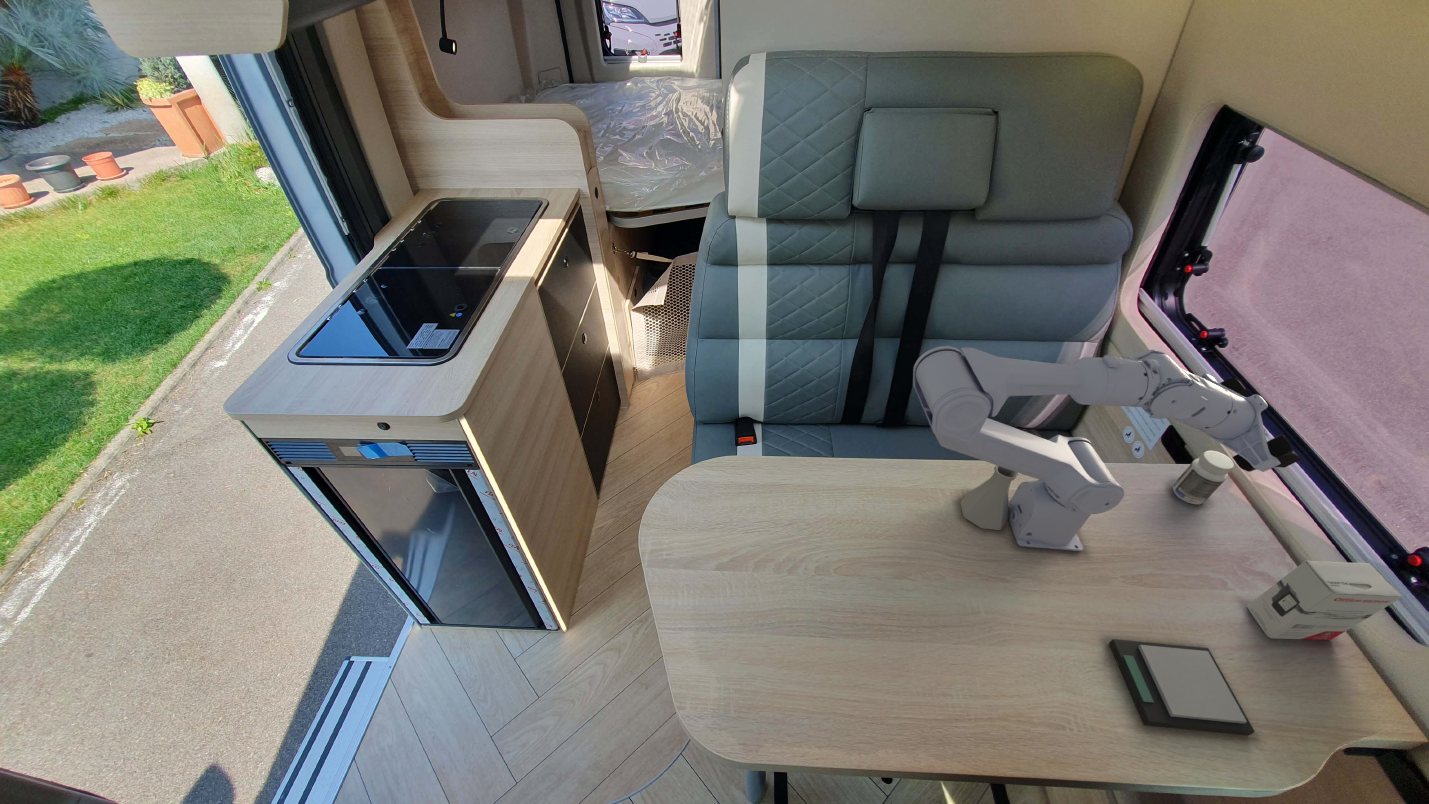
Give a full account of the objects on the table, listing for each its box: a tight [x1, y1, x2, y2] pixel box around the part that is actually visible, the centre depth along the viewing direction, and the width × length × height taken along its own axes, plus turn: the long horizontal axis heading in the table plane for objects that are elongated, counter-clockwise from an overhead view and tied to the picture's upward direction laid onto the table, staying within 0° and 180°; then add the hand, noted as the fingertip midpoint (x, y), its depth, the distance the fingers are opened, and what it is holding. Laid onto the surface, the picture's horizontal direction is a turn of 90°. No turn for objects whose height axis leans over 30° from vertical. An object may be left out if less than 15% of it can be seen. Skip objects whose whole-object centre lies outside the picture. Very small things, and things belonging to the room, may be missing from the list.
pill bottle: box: [1172, 450, 1235, 505], centre depth 92 cm, size 5×5×8 cm
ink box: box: [1246, 560, 1403, 641], centre depth 74 cm, size 9×5×12 cm, turn 88°
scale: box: [1108, 638, 1256, 736], centre depth 71 cm, size 12×10×2 cm
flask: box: [960, 465, 1019, 531], centre depth 88 cm, size 7×7×10 cm
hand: (1271, 438), depth 76 cm, fingers open, 7 cm apart
